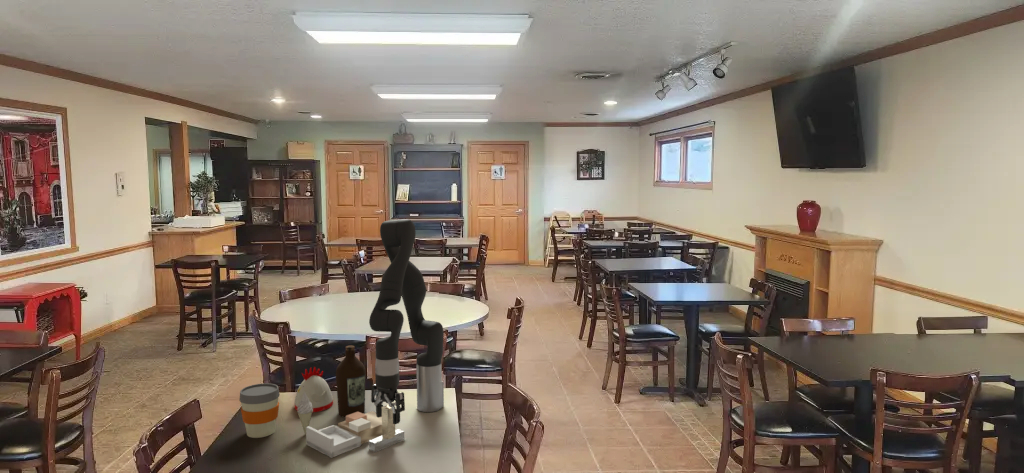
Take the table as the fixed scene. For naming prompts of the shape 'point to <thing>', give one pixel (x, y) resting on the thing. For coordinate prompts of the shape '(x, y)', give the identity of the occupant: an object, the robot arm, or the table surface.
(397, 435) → the scraper
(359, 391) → the brown rum bottle
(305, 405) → the ice cream cone
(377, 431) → the tan flat block
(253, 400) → the reusable coffee cup
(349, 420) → the terracotta tile
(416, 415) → the table surface
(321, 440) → the box
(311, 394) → the kitchen timer
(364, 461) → the table surface
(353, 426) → the offwhite tile
